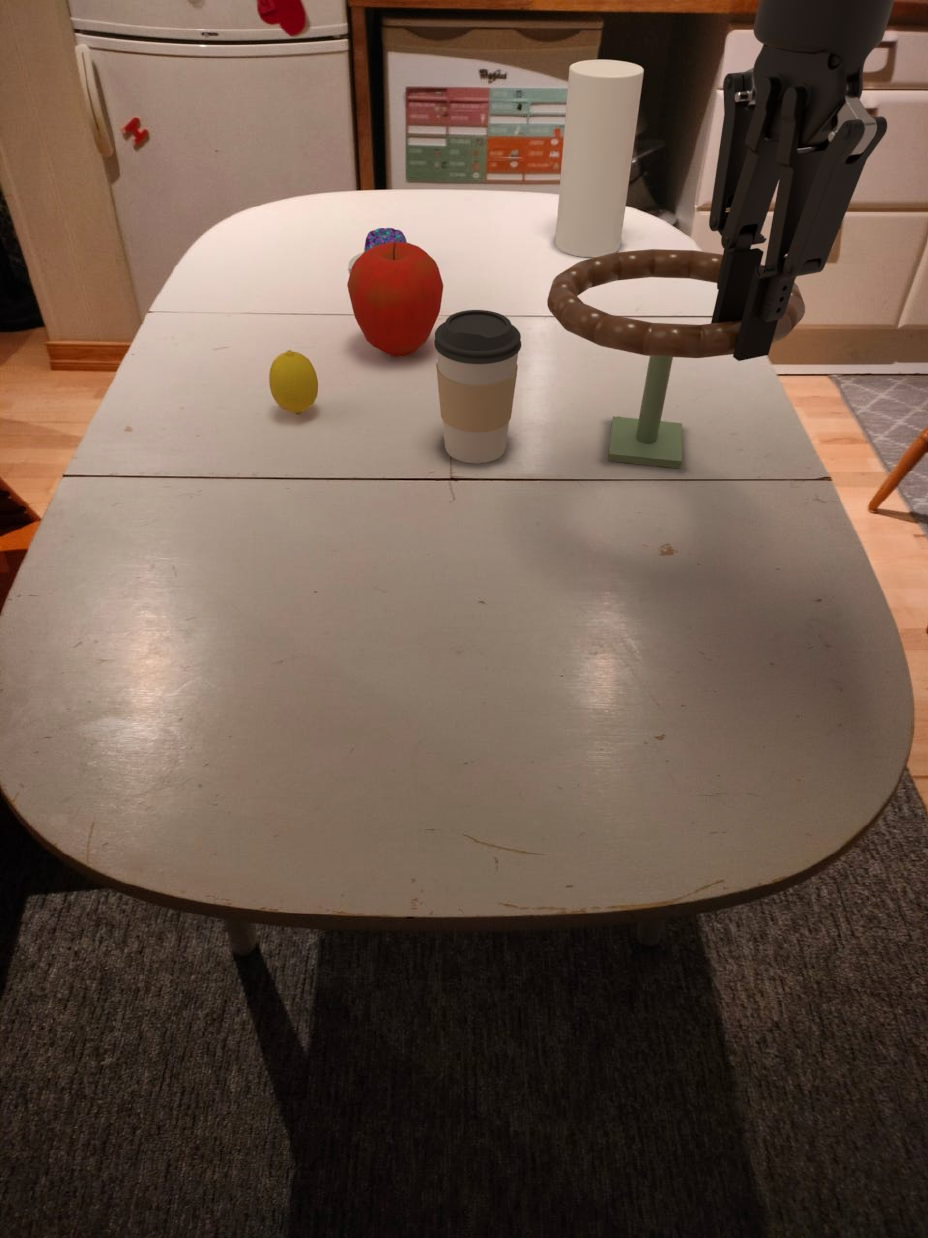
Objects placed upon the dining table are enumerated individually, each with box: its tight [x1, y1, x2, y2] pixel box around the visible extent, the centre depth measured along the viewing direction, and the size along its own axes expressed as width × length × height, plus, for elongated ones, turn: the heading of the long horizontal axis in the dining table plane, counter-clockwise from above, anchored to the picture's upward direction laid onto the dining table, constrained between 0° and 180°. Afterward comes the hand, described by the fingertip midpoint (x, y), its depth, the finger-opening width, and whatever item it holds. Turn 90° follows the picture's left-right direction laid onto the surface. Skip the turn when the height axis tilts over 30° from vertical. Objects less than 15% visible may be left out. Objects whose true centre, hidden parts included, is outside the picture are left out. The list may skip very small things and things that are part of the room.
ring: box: [546, 248, 806, 359], centre depth 71 cm, size 21×21×2 cm
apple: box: [346, 242, 444, 358], centre depth 108 cm, size 12×12×14 cm
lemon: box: [268, 349, 319, 415], centre depth 98 cm, size 6×6×8 cm
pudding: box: [347, 227, 408, 271], centre depth 130 cm, size 12×12×5 cm
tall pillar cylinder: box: [554, 59, 645, 258], centre depth 131 cm, size 11×11×25 cm
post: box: [607, 356, 683, 470], centre depth 92 cm, size 8×8×13 cm
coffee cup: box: [433, 309, 522, 464], centre depth 91 cm, size 9×9×15 cm
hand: (737, 345), depth 65 cm, fingers closed on ring, 3 cm apart
